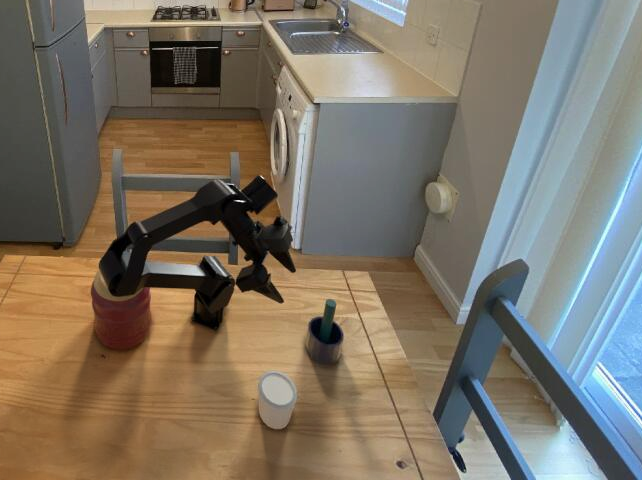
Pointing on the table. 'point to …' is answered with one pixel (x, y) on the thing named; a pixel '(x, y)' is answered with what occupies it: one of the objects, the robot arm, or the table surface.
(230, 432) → the table surface
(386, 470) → the table surface
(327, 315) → the teal green rod
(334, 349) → the cup
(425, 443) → the table surface
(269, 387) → the white cylindrical container
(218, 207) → the robot arm
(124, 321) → the kitchen canister
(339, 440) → the table surface
